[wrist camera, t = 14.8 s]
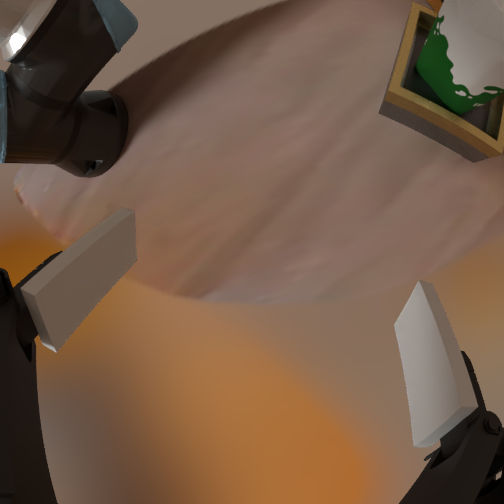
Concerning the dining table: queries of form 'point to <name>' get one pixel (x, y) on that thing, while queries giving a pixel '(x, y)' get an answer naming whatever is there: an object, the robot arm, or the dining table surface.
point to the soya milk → (465, 54)
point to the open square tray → (438, 100)
